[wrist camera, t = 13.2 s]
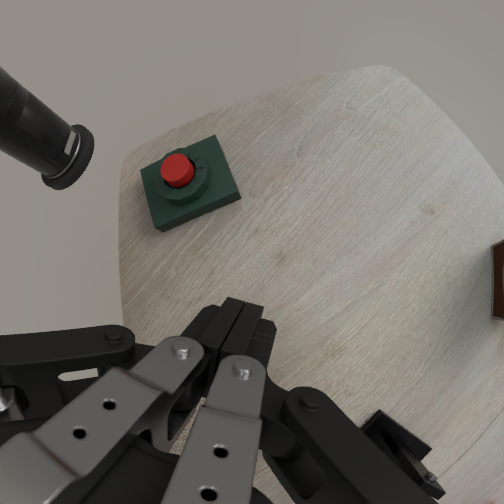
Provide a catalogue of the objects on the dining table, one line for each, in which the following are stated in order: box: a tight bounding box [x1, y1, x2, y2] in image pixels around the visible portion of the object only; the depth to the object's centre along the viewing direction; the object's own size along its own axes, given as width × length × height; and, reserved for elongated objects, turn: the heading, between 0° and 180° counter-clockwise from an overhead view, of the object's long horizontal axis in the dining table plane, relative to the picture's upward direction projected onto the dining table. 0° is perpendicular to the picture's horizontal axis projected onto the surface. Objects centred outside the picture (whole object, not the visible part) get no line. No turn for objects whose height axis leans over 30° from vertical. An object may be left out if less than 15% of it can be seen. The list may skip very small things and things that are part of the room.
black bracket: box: [360, 409, 446, 500], centre depth 19 cm, size 11×8×12 cm
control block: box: [140, 135, 241, 232], centre depth 30 cm, size 10×8×4 cm
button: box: [160, 154, 194, 187], centre depth 28 cm, size 3×3×2 cm
